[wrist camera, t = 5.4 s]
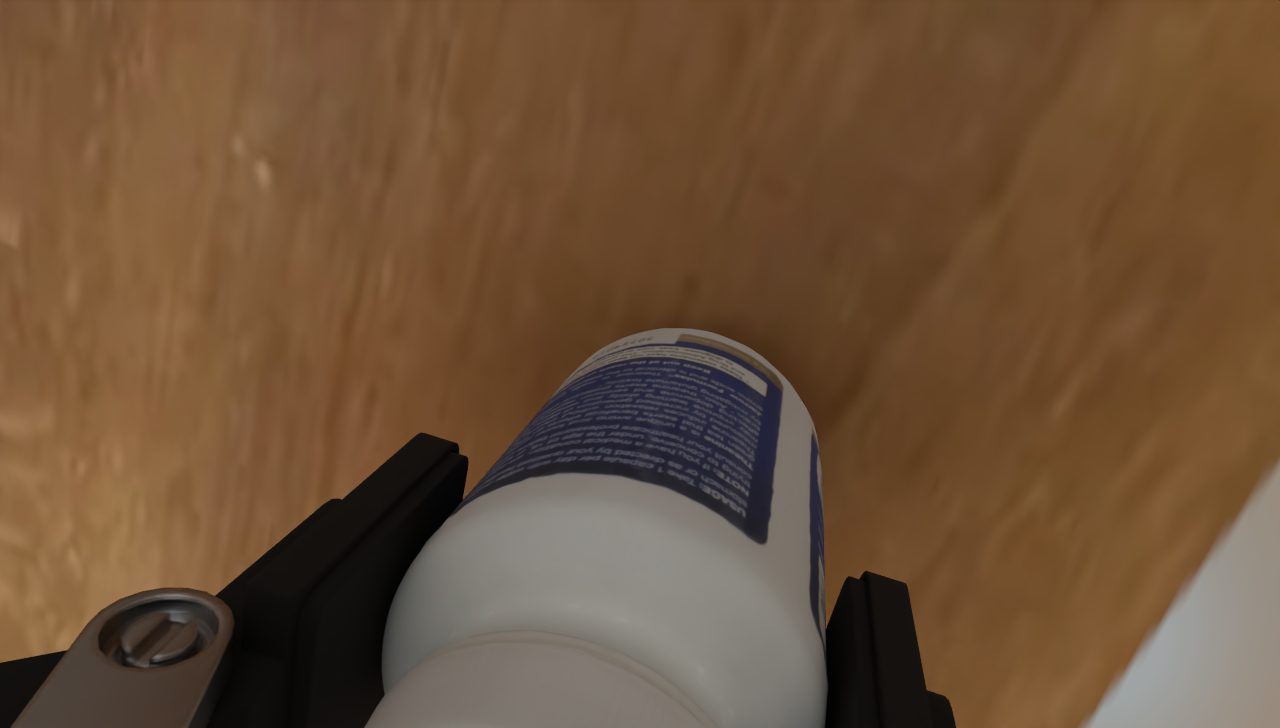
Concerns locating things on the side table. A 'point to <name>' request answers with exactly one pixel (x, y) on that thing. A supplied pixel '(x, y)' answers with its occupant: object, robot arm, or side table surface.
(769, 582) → the pill bottle
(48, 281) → the side table surface
